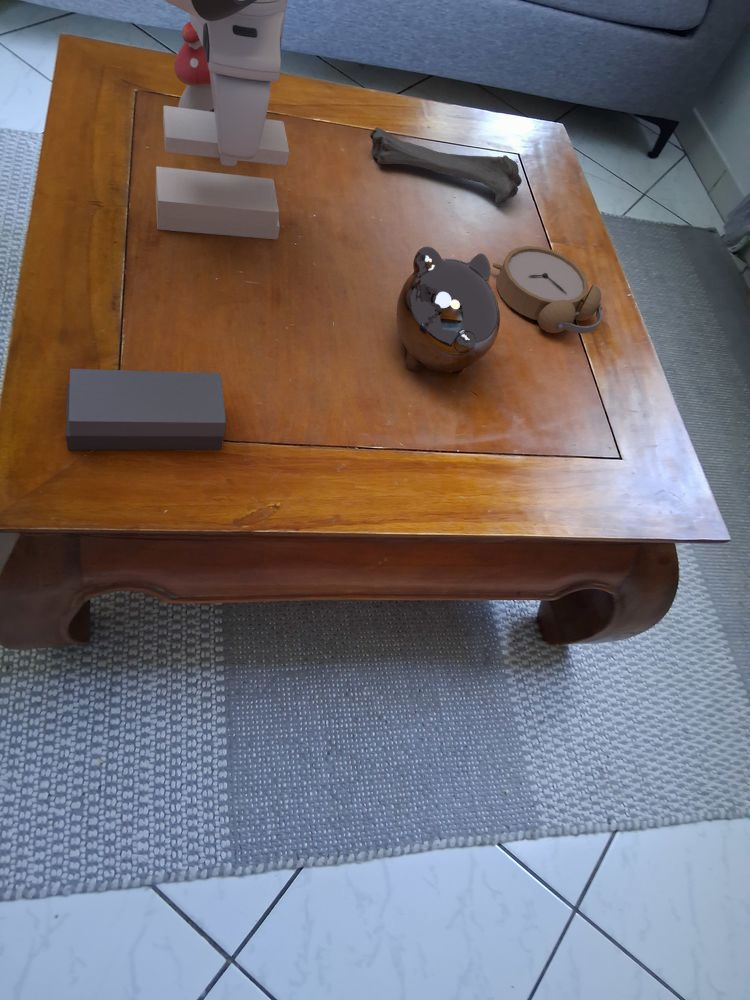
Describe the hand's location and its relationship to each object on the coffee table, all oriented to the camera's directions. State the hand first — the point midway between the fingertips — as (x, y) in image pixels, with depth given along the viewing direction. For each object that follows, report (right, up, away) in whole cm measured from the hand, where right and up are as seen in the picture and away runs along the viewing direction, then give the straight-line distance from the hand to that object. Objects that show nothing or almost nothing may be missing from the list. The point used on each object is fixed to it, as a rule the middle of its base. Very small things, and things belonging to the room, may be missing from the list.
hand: (225, 142), depth 83 cm
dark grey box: (-6, -32, -10) cm, 34 cm away
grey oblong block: (-3, -5, +8) cm, 10 cm away
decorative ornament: (-5, +7, +16) cm, 18 cm away
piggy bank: (+23, -22, +6) cm, 32 cm away
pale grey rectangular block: (0, 0, 0) cm, 0 cm away
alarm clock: (+38, -14, +16) cm, 44 cm away
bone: (+26, +6, +24) cm, 36 cm away
